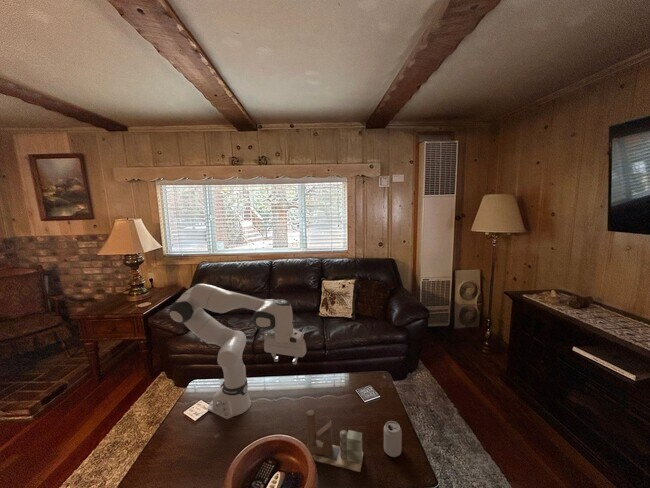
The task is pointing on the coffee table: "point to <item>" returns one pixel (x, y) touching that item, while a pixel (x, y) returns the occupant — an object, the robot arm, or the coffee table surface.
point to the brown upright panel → (319, 436)
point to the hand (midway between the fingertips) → (285, 362)
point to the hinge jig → (345, 452)
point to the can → (392, 438)
